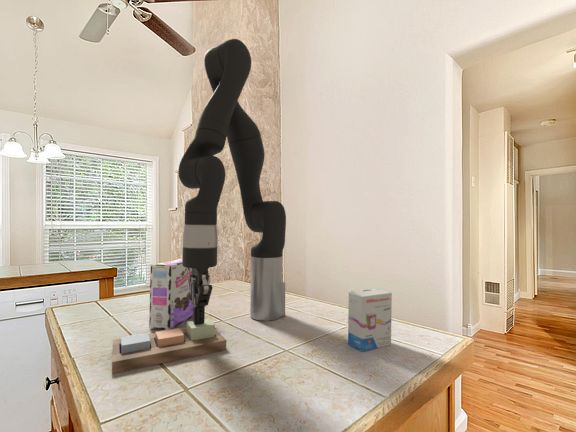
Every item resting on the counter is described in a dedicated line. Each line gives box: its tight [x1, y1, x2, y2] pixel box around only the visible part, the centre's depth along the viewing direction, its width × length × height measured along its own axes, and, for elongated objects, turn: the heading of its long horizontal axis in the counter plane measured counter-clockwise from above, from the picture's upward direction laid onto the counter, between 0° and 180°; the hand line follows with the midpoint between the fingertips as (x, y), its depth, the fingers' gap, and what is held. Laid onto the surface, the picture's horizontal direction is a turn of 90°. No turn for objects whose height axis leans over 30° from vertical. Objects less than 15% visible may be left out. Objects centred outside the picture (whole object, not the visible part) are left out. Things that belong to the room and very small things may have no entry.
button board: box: [111, 327, 227, 374], centre depth 65 cm, size 21×12×2 cm, turn 119°
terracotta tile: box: [154, 327, 184, 347], centre depth 65 cm, size 5×5×3 cm
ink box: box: [347, 287, 393, 353], centre depth 67 cm, size 9×5×12 cm, turn 117°
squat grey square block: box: [120, 332, 150, 354], centre depth 61 cm, size 5×5×3 cm
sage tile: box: [186, 318, 216, 341], centre depth 68 cm, size 5×5×3 cm
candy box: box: [148, 258, 193, 331], centre depth 83 cm, size 14×6×16 cm, turn 168°
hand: (198, 323), depth 68 cm, fingers closed
